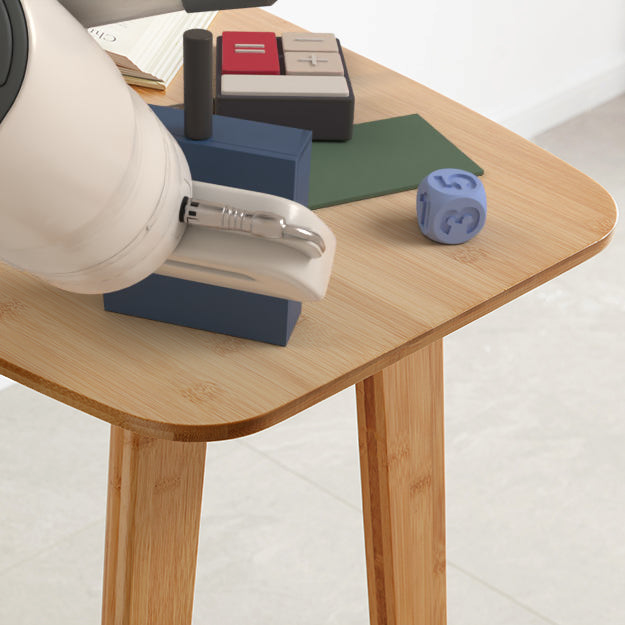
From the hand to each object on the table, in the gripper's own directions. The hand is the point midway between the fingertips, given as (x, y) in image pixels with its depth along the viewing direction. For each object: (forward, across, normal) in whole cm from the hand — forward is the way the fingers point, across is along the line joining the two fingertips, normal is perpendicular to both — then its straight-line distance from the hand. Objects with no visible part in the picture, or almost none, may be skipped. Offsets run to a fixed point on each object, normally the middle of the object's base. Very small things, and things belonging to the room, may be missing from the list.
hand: (168, 257), depth 63 cm
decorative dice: (+20, -14, -9) cm, 26 cm away
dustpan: (+10, 0, +1) cm, 10 cm away
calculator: (+31, +3, -20) cm, 37 cm away
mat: (+24, -2, -13) cm, 28 cm away
